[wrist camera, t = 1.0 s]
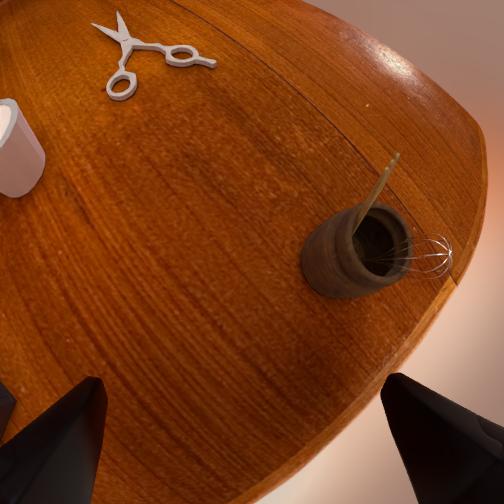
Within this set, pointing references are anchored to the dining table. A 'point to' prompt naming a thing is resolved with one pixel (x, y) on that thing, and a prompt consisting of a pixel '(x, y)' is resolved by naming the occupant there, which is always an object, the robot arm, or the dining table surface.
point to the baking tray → (5, 407)
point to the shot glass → (18, 152)
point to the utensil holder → (361, 248)
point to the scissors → (133, 43)
